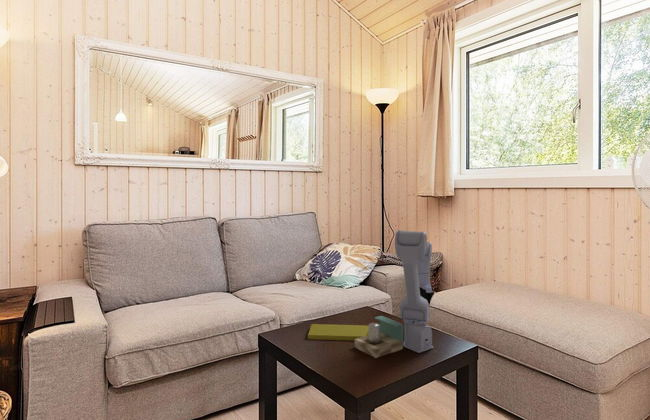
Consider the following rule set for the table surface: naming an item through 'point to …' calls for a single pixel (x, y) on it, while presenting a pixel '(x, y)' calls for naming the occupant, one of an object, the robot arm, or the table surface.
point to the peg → (374, 333)
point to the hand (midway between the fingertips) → (422, 306)
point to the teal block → (391, 327)
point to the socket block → (379, 345)
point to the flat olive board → (337, 332)
